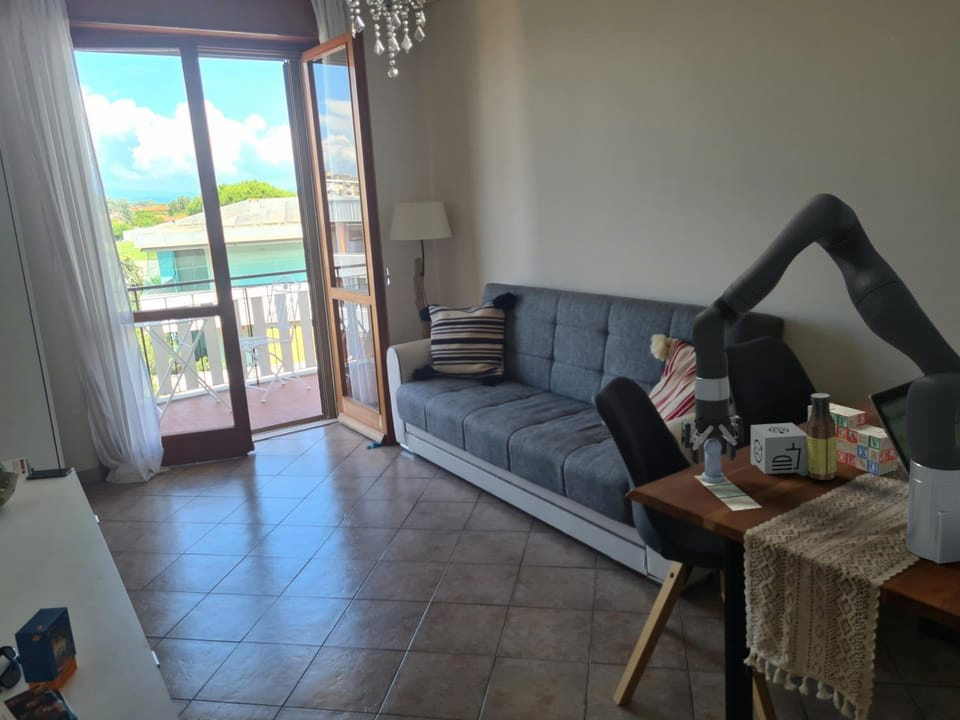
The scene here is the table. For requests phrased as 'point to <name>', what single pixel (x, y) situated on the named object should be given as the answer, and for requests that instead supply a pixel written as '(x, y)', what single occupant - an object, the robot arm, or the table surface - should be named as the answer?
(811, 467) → the sauce bottle
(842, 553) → the table surface
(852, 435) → the stack of blocks
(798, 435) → the icon cube
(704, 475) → the pawn
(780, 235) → the robot arm
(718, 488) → the board
